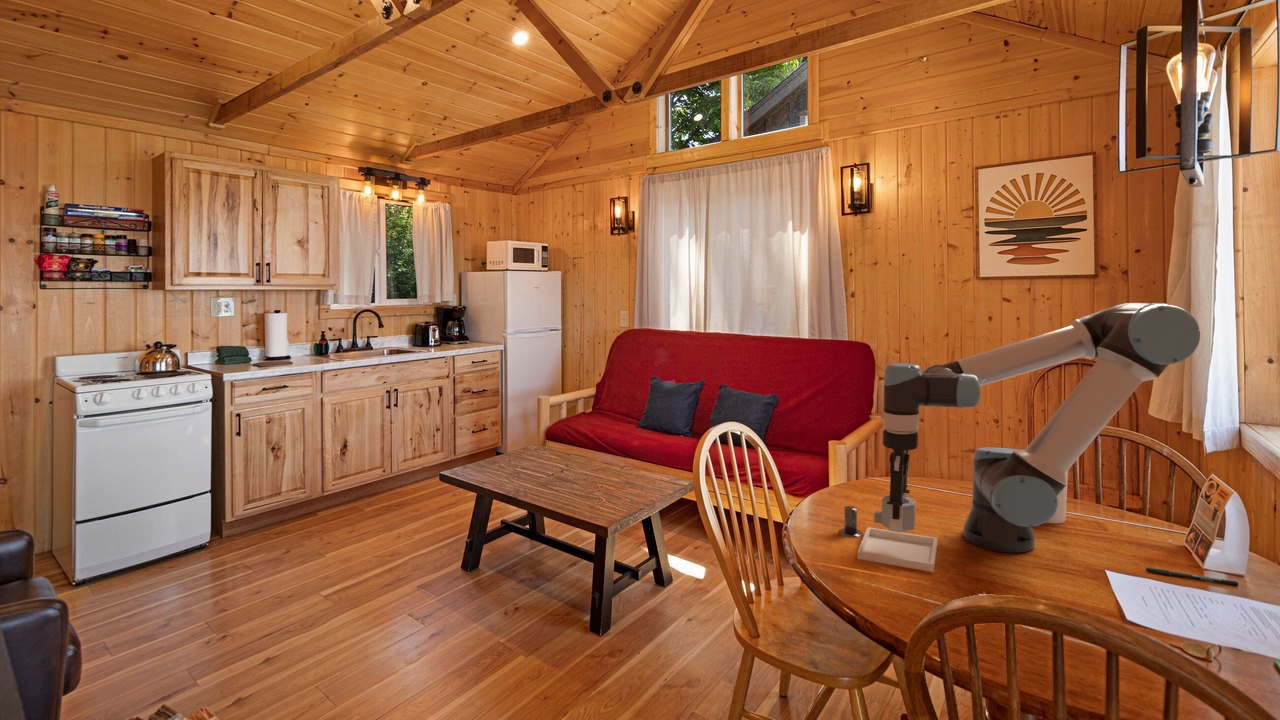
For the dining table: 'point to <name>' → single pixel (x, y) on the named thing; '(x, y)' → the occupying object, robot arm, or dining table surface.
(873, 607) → the dining table surface
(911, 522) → the grey socket block
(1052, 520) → the cup
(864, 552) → the tray
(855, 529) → the post
